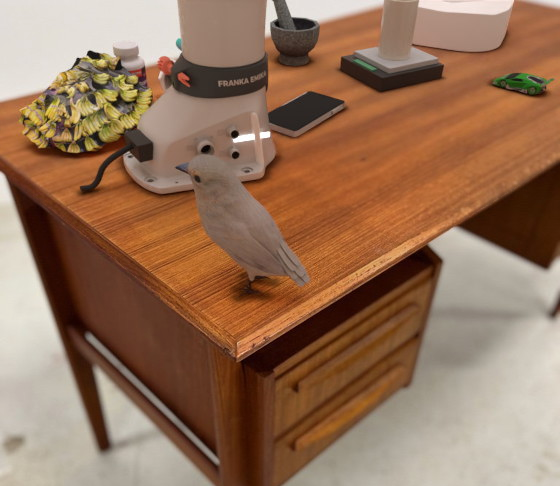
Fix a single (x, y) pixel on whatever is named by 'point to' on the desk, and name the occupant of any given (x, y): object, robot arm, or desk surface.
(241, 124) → the robot arm
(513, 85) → the toy car
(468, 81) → the desk surface
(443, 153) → the desk surface
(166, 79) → the long cone
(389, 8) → the cup
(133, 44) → the pill bottle
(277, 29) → the mortar and pestle
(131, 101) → the banana patterned fabric
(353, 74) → the scale
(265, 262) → the bird
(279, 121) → the smartphone
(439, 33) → the tissue box
